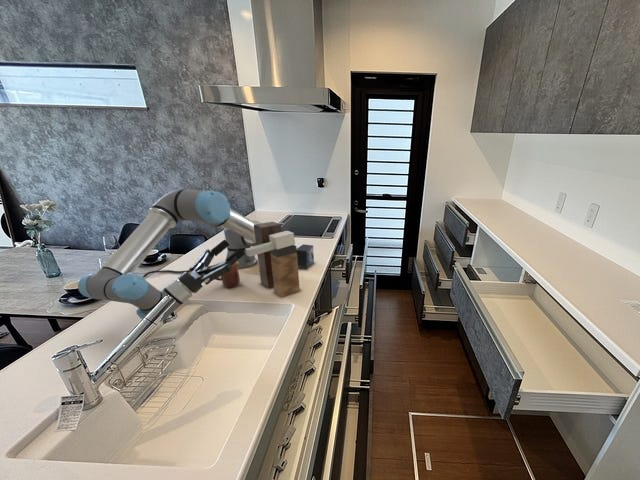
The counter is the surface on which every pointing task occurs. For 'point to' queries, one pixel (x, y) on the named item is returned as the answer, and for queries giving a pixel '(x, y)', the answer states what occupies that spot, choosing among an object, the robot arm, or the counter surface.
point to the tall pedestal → (264, 258)
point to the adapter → (284, 251)
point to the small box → (305, 256)
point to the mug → (231, 277)
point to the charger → (273, 243)
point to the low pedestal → (285, 274)
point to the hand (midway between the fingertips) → (234, 246)
